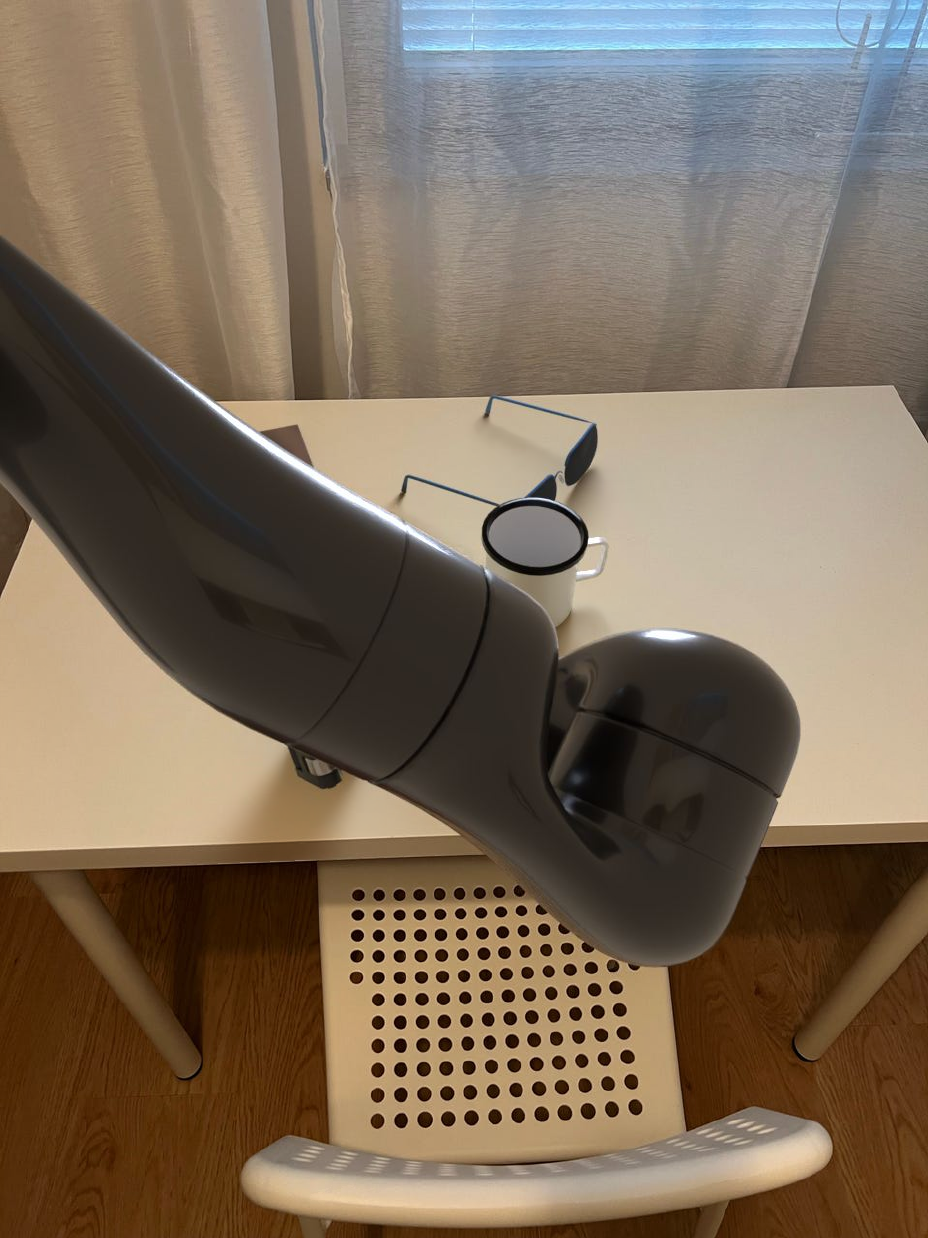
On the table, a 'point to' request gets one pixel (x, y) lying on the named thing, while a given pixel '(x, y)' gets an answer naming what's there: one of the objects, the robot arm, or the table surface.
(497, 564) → the mug
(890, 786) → the table surface
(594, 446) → the sunglasses
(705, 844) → the robot arm
